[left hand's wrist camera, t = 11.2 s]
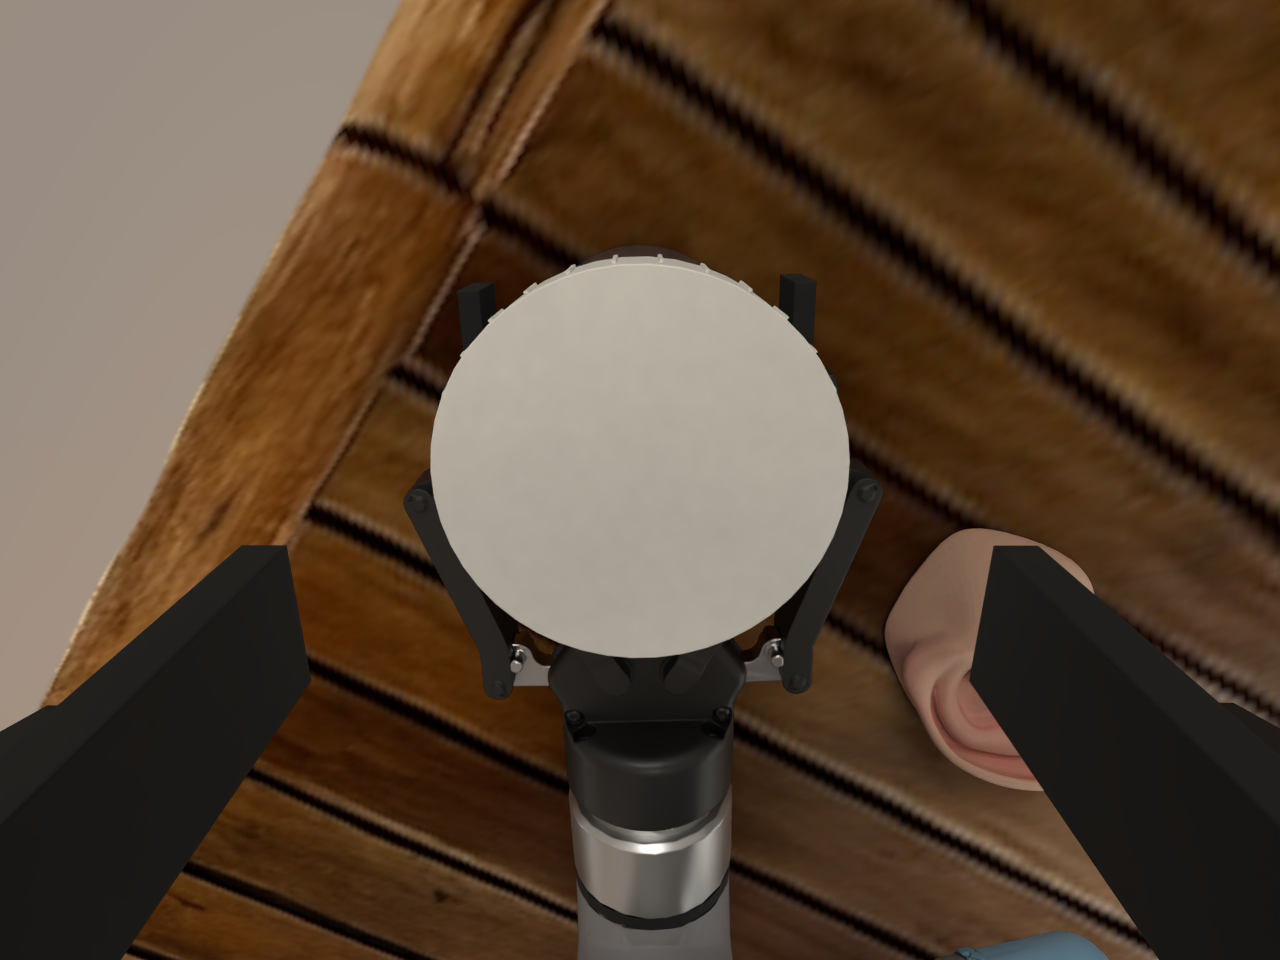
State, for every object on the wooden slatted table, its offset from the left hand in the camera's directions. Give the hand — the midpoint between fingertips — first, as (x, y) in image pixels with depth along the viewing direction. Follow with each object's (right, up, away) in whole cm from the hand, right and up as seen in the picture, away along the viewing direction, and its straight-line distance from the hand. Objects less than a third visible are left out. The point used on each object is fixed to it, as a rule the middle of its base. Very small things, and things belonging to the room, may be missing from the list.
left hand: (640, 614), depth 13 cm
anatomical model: (+18, -6, +26) cm, 33 cm away
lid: (0, +2, +7) cm, 7 cm away
